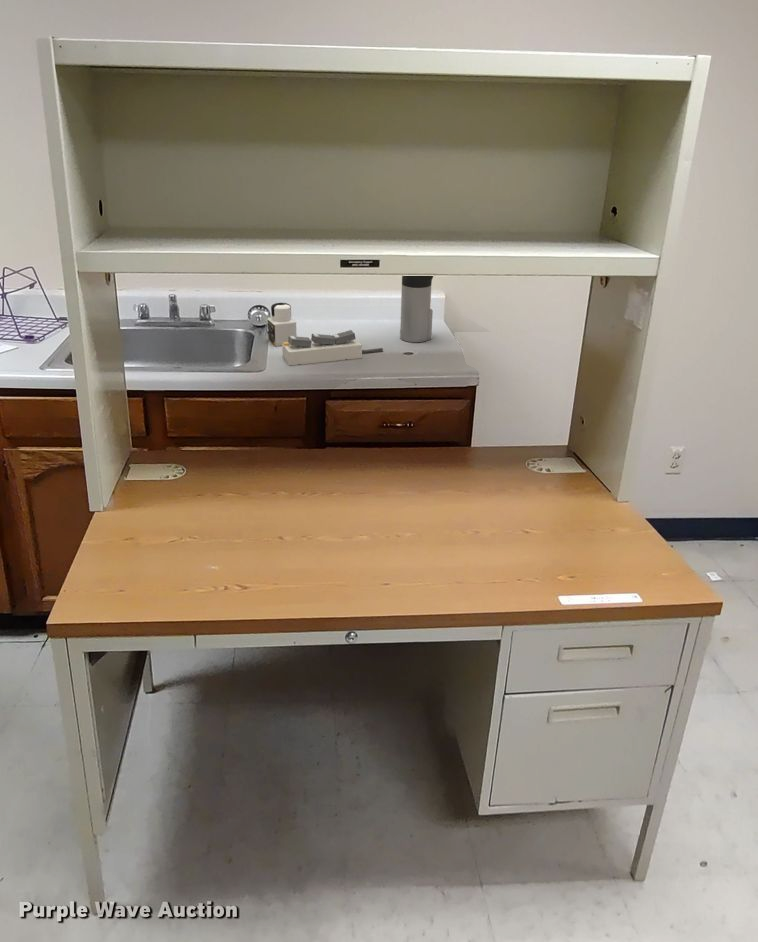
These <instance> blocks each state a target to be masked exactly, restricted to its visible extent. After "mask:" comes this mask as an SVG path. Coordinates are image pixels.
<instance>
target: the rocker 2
mask: <svg viewBox="0 0 758 942" xmlns="http://www.w3.org/2000/svg"><path fill="white" fill-rule="evenodd" d="M331 336H332V337H334V338H335V341H334V342H335V343H336V344H340V343H344V342H347V341H351V340H354V339H356V338H357V337H356V333H355V332H354V331H353V330H351V329H350V330H347V331H343V332H339V333H335V334H332V335H331ZM356 340H357V339H356Z"/></svg>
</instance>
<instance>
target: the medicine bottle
mask: <svg viewBox="0 0 758 942" xmlns="http://www.w3.org/2000/svg"><path fill="white" fill-rule="evenodd" d="M270 309H271V313H270V314H271V317H268V318H267V333H268V334H267V335H268V336H267V337H268V341H269V342H271V344H273V345H274V347H280V346H282V344H283V342H288V337H289V336H297V337H298V335H297V321H295V319H293V318H292V306H291V304H290V303H287V302H275V303H273V304H271V306H270Z"/></svg>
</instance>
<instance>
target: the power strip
mask: <svg viewBox="0 0 758 942" xmlns="http://www.w3.org/2000/svg"><path fill="white" fill-rule="evenodd" d="M311 341H312V340H311ZM281 348H282V351H281V352H282V359H284V361H285V362H286V363H287V364H288V365H289V366H290V365H291V366H299V365H298V364H301V365H306V364H317V363H318V364H319V363H328V362H336V361H337V362H338V361H345V359H348V360H356V359H362V358H363V354H368V353H369V354H372V353H379V352H384V348H382V347H379V348H371V349H369V348H368V349H363V344H362V343H360V342H359V341H358V340H357V339H354V340H351V341H347V342H344V343H340V344H336V343H335V342H334V345H331V344H319V343H314V342H313V341H312V343H311V347H305V346H292V345H290V344H289V343H288V342H283V344H282V347H281Z"/></svg>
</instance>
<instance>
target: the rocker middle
mask: <svg viewBox="0 0 758 942" xmlns="http://www.w3.org/2000/svg"><path fill="white" fill-rule="evenodd" d="M310 340H311V341H313V342H314V343H319V344H331V345H334V341H335V338H334V337H332V335H331V334H318V333H311V338H310Z"/></svg>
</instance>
